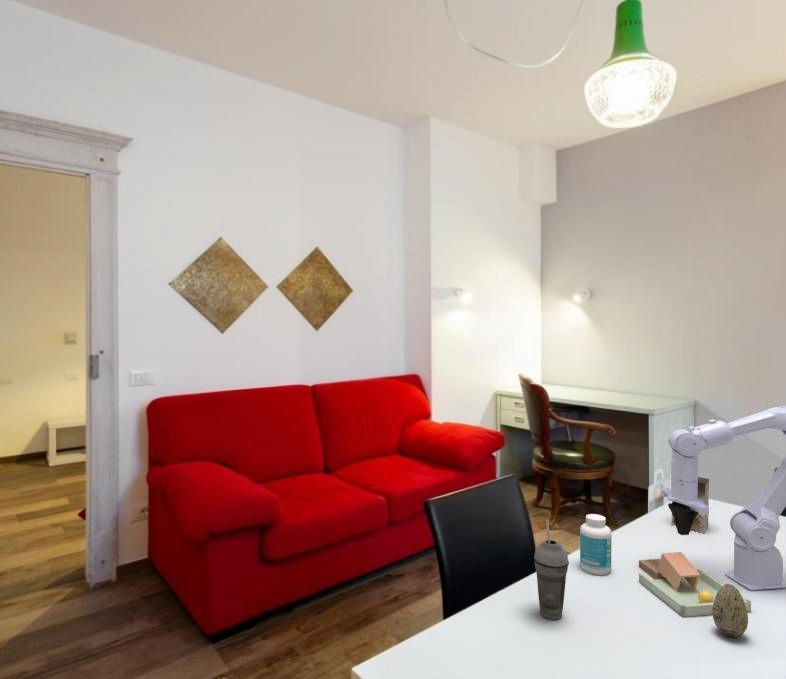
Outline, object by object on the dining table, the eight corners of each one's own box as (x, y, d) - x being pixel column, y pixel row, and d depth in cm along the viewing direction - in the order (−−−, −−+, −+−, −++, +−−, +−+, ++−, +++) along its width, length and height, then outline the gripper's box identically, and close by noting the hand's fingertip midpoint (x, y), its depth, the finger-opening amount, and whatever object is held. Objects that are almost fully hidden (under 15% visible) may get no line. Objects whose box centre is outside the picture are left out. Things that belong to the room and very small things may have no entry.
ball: (718, 596, 112) (715, 608, 112) (708, 587, 115) (705, 598, 115) (705, 597, 111) (703, 609, 112) (696, 587, 114) (693, 599, 115)
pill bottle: (614, 578, 127) (614, 523, 126) (582, 575, 128) (582, 521, 128) (607, 564, 134) (608, 512, 134) (578, 562, 135) (578, 511, 135)
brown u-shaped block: (681, 552, 125) (700, 574, 119) (676, 568, 127) (695, 591, 120) (662, 553, 124) (680, 575, 118) (657, 569, 126) (675, 592, 120)
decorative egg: (740, 647, 99) (740, 595, 99) (707, 632, 103) (707, 583, 103) (753, 636, 102) (753, 586, 102) (719, 623, 107) (720, 575, 107)
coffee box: (670, 529, 158) (670, 477, 158) (675, 523, 163) (675, 472, 162) (704, 537, 152) (705, 482, 152) (709, 530, 157) (709, 478, 156)
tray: (699, 578, 127) (699, 569, 127) (751, 611, 111) (751, 601, 111) (638, 582, 125) (638, 573, 124) (682, 617, 109) (682, 607, 109)
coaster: (664, 566, 133) (664, 558, 133) (682, 579, 126) (682, 571, 126) (638, 567, 132) (638, 560, 132) (656, 581, 125) (656, 572, 125)
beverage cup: (550, 626, 106) (551, 529, 106) (526, 609, 112) (526, 518, 112) (576, 617, 109) (576, 523, 109) (551, 601, 116) (551, 512, 115)
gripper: (650, 471, 134) (650, 523, 134) (689, 488, 120) (688, 546, 120) (675, 471, 135) (675, 522, 135) (717, 487, 121) (716, 545, 121)
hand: (683, 534), depth 128 cm, fingers closed
